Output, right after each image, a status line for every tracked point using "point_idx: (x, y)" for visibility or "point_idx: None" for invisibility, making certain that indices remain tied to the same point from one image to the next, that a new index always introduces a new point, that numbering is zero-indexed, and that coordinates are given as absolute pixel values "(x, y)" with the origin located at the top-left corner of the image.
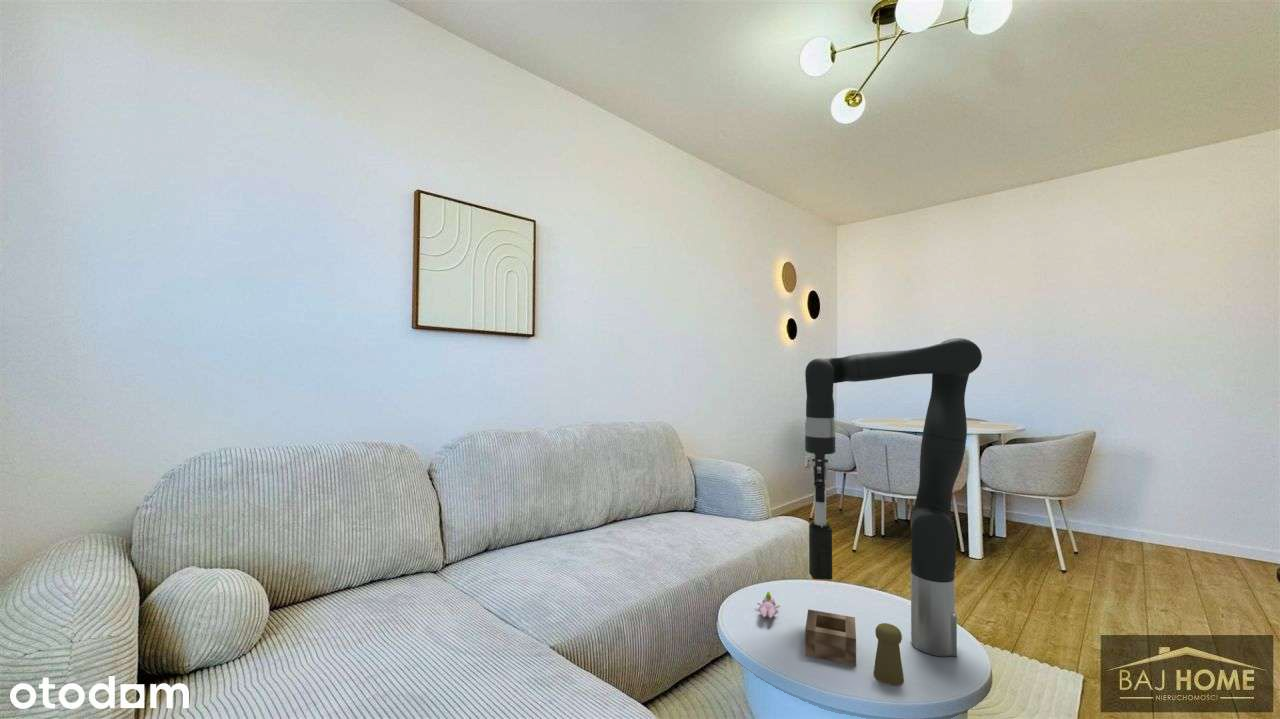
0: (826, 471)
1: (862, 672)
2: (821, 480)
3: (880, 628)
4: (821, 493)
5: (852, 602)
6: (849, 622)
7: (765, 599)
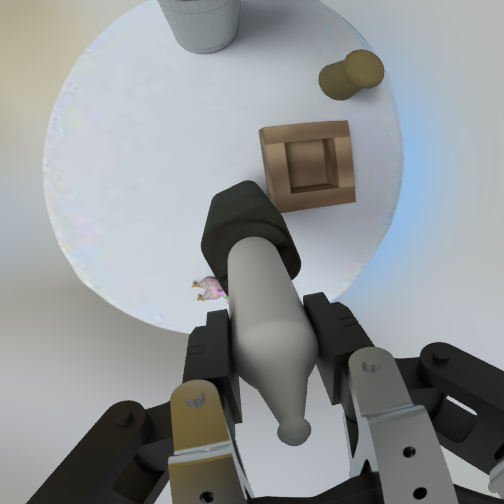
0: (445, 472)
1: (344, 114)
2: (300, 430)
3: (378, 79)
4: (363, 336)
5: (102, 165)
6: (291, 134)
7: (219, 296)
